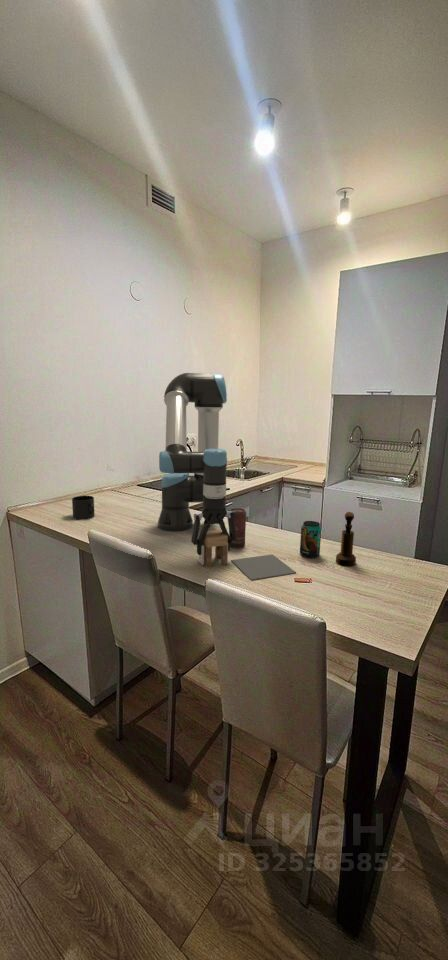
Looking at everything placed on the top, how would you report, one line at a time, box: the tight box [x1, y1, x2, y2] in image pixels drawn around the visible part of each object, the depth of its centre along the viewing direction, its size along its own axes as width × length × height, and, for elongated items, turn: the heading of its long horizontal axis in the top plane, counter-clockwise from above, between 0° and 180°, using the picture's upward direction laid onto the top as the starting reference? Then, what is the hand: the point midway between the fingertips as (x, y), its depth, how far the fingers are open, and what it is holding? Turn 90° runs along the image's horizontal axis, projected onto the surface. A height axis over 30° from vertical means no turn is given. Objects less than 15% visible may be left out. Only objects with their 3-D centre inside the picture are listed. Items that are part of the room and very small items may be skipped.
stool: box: [202, 529, 228, 569], centre depth 133 cm, size 7×7×10 cm
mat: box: [230, 553, 297, 581], centre depth 131 cm, size 16×16×1 cm
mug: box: [71, 495, 96, 520], centre depth 181 cm, size 9×12×9 cm
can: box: [228, 508, 247, 549], centre depth 149 cm, size 6×6×14 cm
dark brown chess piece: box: [335, 511, 357, 567], centre depth 134 cm, size 7×6×18 cm
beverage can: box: [299, 520, 322, 559], centre depth 141 cm, size 7×7×12 cm
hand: (213, 561), depth 134 cm, fingers open, 8 cm apart
